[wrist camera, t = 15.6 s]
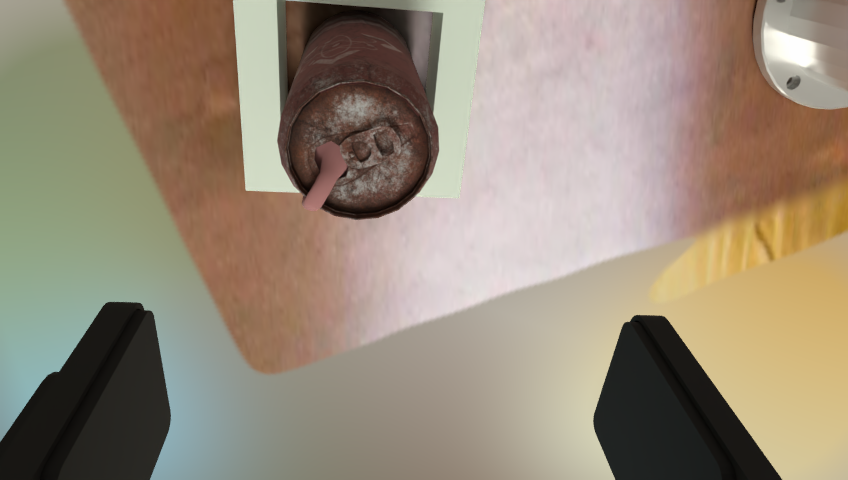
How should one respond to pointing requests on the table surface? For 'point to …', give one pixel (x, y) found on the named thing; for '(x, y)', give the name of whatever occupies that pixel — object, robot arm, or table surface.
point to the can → (357, 120)
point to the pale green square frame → (268, 84)
